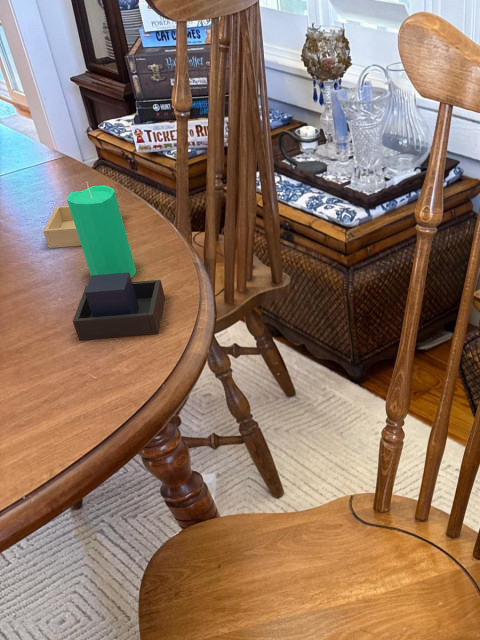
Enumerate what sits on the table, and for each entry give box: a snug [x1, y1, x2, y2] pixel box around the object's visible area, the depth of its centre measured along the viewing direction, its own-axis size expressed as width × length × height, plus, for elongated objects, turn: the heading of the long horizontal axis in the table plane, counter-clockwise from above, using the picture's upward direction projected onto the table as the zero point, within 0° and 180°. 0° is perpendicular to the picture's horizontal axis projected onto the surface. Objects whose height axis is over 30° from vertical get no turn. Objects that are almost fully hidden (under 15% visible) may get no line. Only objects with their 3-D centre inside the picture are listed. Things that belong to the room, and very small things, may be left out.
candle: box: [66, 180, 137, 278], centre depth 101 cm, size 6×6×12 cm
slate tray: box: [72, 279, 166, 341], centre depth 95 cm, size 9×9×2 cm
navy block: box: [85, 272, 139, 317], centre depth 93 cm, size 4×4×4 cm
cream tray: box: [42, 202, 123, 249], centre depth 114 cm, size 9×9×2 cm
